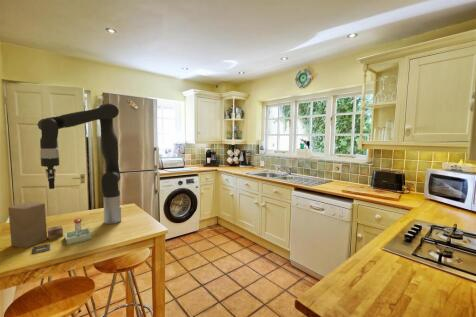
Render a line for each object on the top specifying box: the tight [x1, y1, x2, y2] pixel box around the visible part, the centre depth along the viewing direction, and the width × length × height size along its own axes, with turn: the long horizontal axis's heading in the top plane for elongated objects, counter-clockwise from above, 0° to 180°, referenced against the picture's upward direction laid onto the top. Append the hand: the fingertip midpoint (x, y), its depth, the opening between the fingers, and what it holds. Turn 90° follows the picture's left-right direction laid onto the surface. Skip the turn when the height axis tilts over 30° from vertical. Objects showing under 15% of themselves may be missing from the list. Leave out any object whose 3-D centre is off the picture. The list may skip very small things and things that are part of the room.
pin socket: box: [32, 243, 51, 255], centre depth 110 cm, size 6×6×1 cm
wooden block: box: [7, 201, 48, 249], centre depth 115 cm, size 10×10×20 cm
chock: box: [47, 225, 64, 241], centre depth 123 cm, size 6×4×5 cm
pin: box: [73, 218, 83, 237], centre depth 122 cm, size 3×3×10 cm
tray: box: [64, 227, 93, 246], centre depth 122 cm, size 11×10×3 cm
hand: (51, 187), depth 120 cm, fingers open, 8 cm apart
